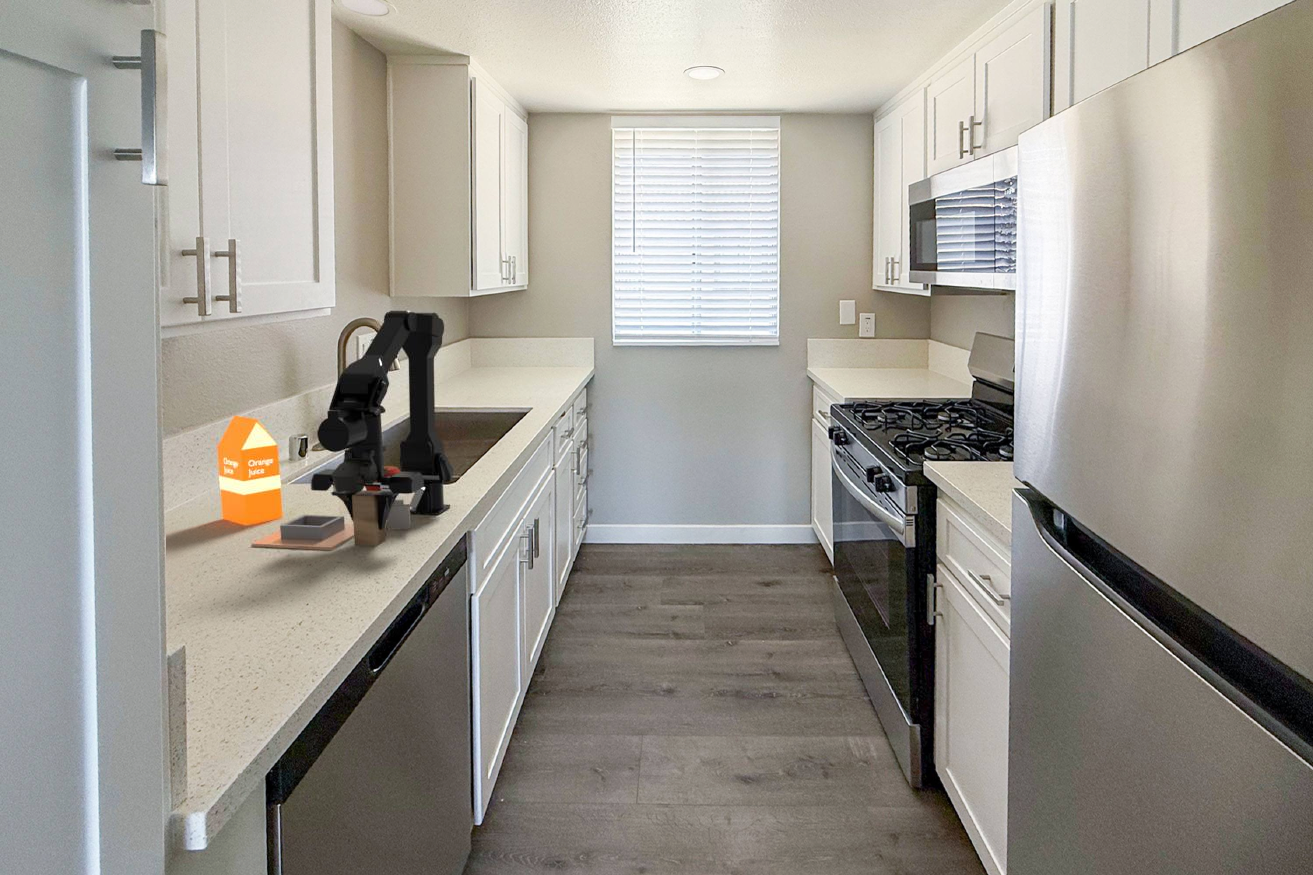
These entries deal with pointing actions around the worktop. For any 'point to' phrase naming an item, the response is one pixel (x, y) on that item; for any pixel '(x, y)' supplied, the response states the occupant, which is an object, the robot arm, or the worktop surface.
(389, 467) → the apple
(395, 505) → the lighter
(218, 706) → the worktop surface
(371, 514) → the wooden block
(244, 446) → the orange juice
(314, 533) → the block holder
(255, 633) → the worktop surface
